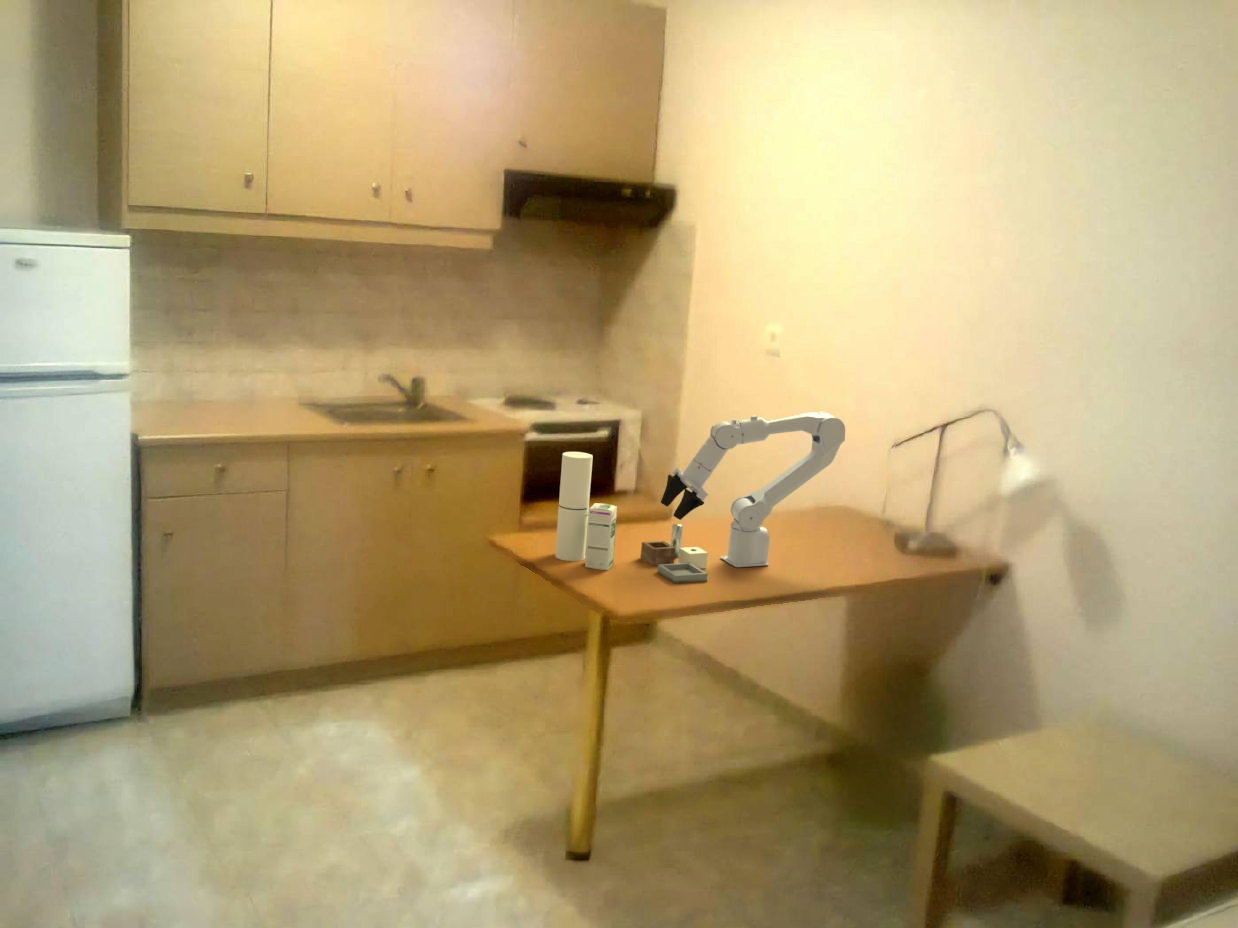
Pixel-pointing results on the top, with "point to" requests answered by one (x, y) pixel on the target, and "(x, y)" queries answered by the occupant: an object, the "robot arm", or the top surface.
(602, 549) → the syrup box
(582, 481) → the cylindrical container
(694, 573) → the tray
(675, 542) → the cylinder
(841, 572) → the top surface
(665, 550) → the hollow square frame
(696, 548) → the small block
